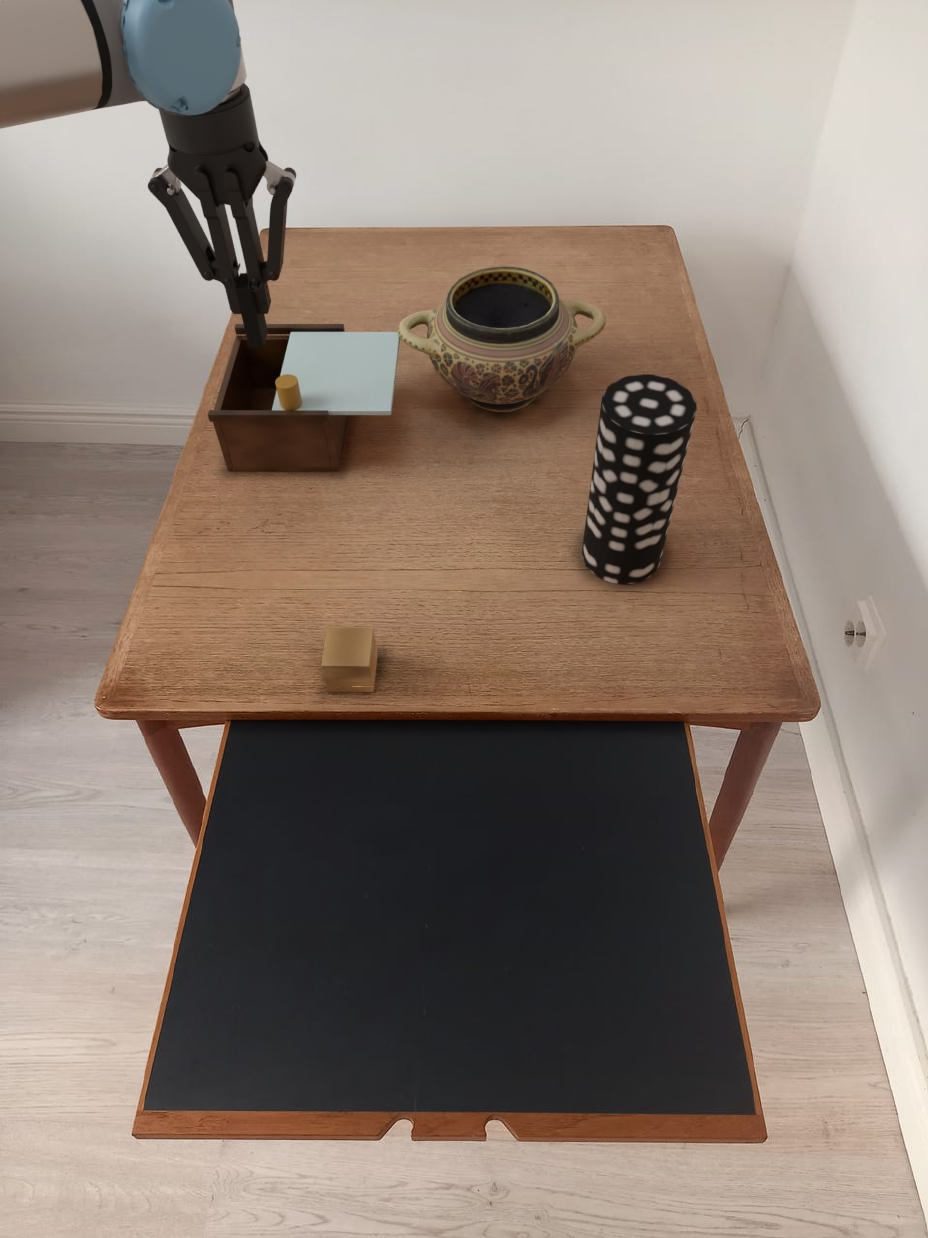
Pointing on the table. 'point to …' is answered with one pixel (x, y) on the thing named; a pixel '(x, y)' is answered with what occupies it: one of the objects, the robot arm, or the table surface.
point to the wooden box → (272, 411)
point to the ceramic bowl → (502, 336)
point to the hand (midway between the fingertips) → (258, 338)
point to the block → (349, 659)
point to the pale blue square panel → (339, 373)
